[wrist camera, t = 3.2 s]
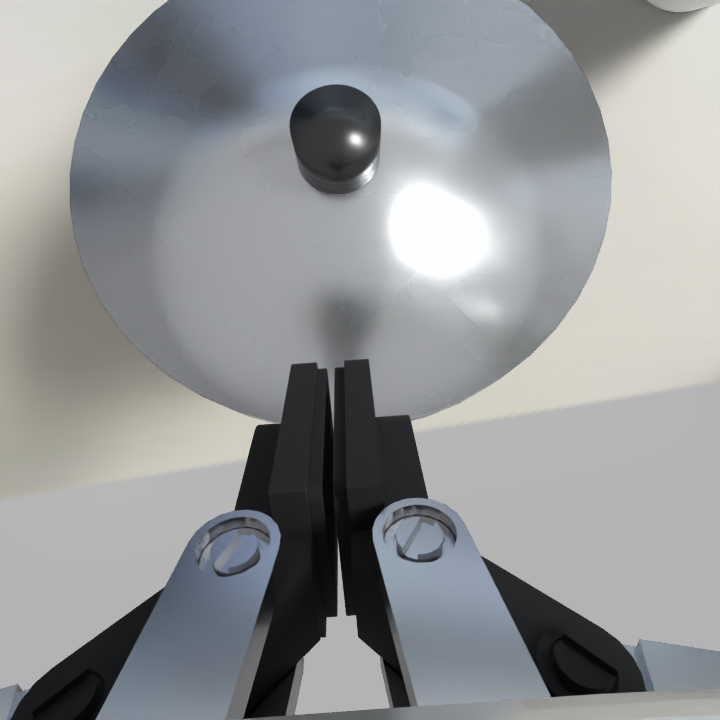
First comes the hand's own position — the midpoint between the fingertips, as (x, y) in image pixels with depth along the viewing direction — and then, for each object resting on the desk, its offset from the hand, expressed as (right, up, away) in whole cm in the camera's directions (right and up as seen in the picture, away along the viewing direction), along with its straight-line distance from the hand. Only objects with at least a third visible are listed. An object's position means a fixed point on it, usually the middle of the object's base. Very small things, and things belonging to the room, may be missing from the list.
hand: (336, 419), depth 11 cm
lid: (0, +7, +4) cm, 8 cm away
